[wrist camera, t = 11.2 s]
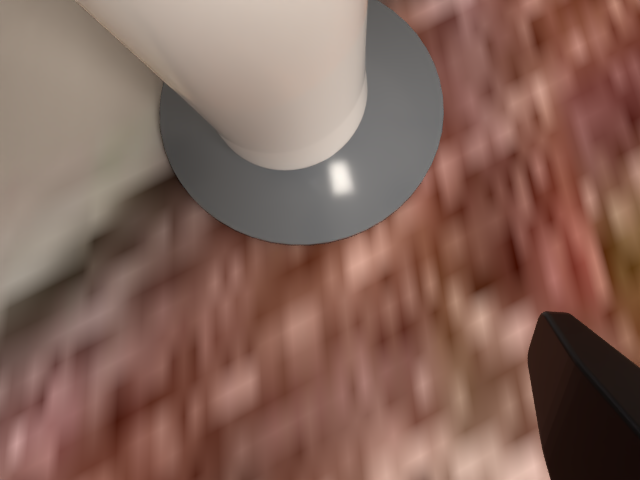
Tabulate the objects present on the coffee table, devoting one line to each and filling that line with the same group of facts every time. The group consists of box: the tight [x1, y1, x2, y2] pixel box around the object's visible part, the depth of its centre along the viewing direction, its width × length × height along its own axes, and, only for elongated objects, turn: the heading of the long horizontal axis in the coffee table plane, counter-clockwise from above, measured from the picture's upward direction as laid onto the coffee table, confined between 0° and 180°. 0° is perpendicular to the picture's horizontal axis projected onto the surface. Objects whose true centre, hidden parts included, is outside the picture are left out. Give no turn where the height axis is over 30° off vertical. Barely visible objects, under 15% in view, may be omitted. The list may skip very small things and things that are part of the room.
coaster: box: [160, 0, 444, 245], centre depth 21 cm, size 10×10×1 cm
